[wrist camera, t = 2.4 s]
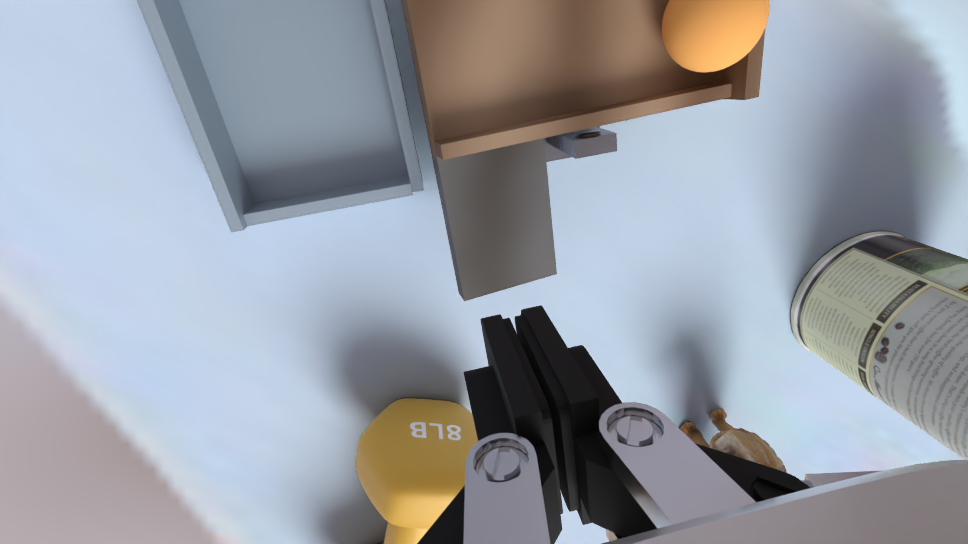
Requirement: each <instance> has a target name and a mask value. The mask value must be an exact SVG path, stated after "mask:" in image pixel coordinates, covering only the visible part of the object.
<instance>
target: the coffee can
mask: <svg viewBox="0 0 968 544" xmlns="http://www.w3.org/2000/svg"><path fill="white" fill-rule="evenodd" d="M791 326H792V330H793V334H794V336H795V337H796V339H797V341H798V342H799V343H800V344H801V345H802V346H803V347H804V348H805V349H807V350H809V351H810V352H813V353H814V354H816V355H818V356H819V357H820V358H822V359H823V360H824V361H826V362H827V363H829V364H830V365H832V366H833V367H834V368H836V369H837V370H839V371H840V372H841V373H843V374H844V375H846V376H847V377H848V378H850V379H851V380H853V381H854V382H855V383H857V384H858V385H860V386H861V387H863V388H864V389H865V390H867V391H868V392H870V393H871V394H872V395H874V396H875V397H876V398H878V399H879V400H881V401H882V402H884V403H885V404H886V405H888V406H889V407H891V408H892V409H893V410H895V411H896V412H898V413H899V414H900V415H902V416H903V417H905V418H906V419H907V420H909V421H910V422H912V423H913V424H915V425H916V426H917V427H919V428H920V429H922V430H923V431H924V432H926V433H927V434H929V435H930V436H931V437H933V438H934V439H936V440H937V441H938V442H940V443H941V444H943V445H944V446H945V447H947V448H948V449H950V450H951V451H953V452H954V453H956V454H957V455H958V456H960V457H961V458H963V459H964V460H968V259H965V258H962V257H959V256H956V255H953V254H950V253H947V252H945V251H942V250H939V249H936V248H933V247H930V246H927V245H925V244H922V243H919V242H916V241H912V240H910V239H907V238H905V237H904V236H902V235H899V234H897V233H893V232H885V231H878V232H870V233H865V234H861V235H858V236H855V237H853V238H851V239H848V240H846V241H844V242H843V243H841V244H839V245H837V246H836V247H834V248H833V249H832V250H830V251H829V252H828V253H826V254H825V255H824V256H823V257H822V258H821V259H820V260H818V261H817V263H816V264H815V265H814V266H813V267H812V268H811V269H810V271H809V272H808V273H807V275H806V276H805V277H804V279H803V281H802V282H801V284H800V285H799V287H798V289H797V292H796V295H795V298H794V300H793V303H792V308H791Z"/></svg>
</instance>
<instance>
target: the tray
mask: <svg viewBox="0 0 968 544" xmlns="http://www.w3.org/2000/svg"><path fill="white" fill-rule="evenodd" d="M137 2H138V4H139V7H140V9H141V12H142V14H143V16H144V19H145V21H146V24H147V26H148V29H149V31H150V34H151V36H152V39H153V41H154V44H155V46H156V48H157V51H158V53H159V56H160V58H161V61H162V63H163V66H164V68H165V71H166V73H167V76H168V78H169V80H170V83H171V85H172V88H173V90H174V93H175V95H176V98H177V100H178V103H179V105H180V108H181V110H182V112H183V115H184V117H185V120H186V122H187V125H188V127H189V130H190V132H191V135H192V137H193V140H194V142H195V144H196V147H197V149H198V152H199V154H200V157H201V159H202V162H203V164H204V167H205V169H206V172H207V174H208V177H209V179H210V181H211V184H212V186H213V189H214V191H215V194H216V196H217V199H218V201H219V204H220V206H221V209H222V211H223V213H224V216H225V218H226V221H227V223H228V226H229V228H230V231H231V232H235V231H241V230H244V229H245V228H246V227H247V226H251V225H256V224H261V223H267V222H272V221H277V220H283V219H288V218H293V217H299V216H304V215H309V214H315V213H320V212H325V211H331V210H336V209H341V208H347V207H352V206H357V205H363V204H368V203H373V202H378V201H384V200H389V199H394V198H400V197H405V196H410V195H413V192H416V191H422V190H424V188H423V181H422V176H421V171H420V166H419V162H418V157H417V152H416V147H415V143H414V138H413V133H412V128H411V123H410V119H409V114H408V109H407V104H406V100H405V95H404V90H403V85H402V81H401V76H400V71H399V66H398V62H397V57H396V52H395V47H394V42H393V38H392V33H391V28H390V23H389V19H388V14H387V9H386V4H385V0H137Z"/></svg>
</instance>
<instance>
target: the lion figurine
mask: <svg viewBox="0 0 968 544" xmlns="http://www.w3.org/2000/svg"><path fill="white" fill-rule="evenodd" d="M726 416H727V415H726V413H725V412H724V411H723V410H722V409H716V410H713V411H712V412H711V420H712V422H713V424H714V425H715V426H716V427H717V429H718V430H719V431H720V433H717V434H716V435H715V436H713V438H712V440H711V443H710V446H709V445H708V444H707V443H706V441H705V440H704V438H703V436H702V434H701V432H700V431H699V430H698V429H696V427H695V425H694V424H693V423H692V422H685V423H684V424H683V425H682V426H681V427H680V430H681V431H682V432H683V433H684V434H685V435H686V436H687V437H689V438H690V439H691V440H692V441H693V442H694V443H696V444H699V445H703V446H706V447H709V448H712V449H715V450H718V451H721V452H724V453H728V454H731V455H734V456H737V457H740V458H743V459H746V460H750V461H753V462H756V463H759V464H762V465H765V466H768V467H772V468H775V469H778V470H781V471H783V472H786V469H785V466H784V465H783V462H782V460H781V459H780V458H778V457H777V455H776V454H775V451H774V450H773V449H772V448H771V447H770V445H769V444H768V443H767V442H766V441H764V440H763V439H761V438H760V437H759V436H758V435H757V434H755V433H752V432H748V431H746V430H744V429H742V428H739V429H736V428H733V427H732V426H731V425H729V424H728V423H726V422H725V418H726Z"/></svg>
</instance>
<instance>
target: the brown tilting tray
mask: <svg viewBox="0 0 968 544" xmlns="http://www.w3.org/2000/svg"><path fill="white" fill-rule="evenodd" d="M668 2H669V0H402V6H403V11H404V16H405V21H406V26H407V31H408V36H409V41H410V46H411V51H412V56H413V62H414V67H415V72H416V77H417V82H418V87H419V92H420V97H421V102H422V107H423V112H424V118H425V123H426V128H427V133H428V138H429V143H430V148H431V153H432V158H433V163H434V168H435V174H436V179H437V184H438V189H439V194H440V199H441V204H442V209H443V214H444V219H445V224H446V229H447V235H448V240H449V245H450V250H451V255H452V260H453V265H454V270H455V275H456V280H457V285H458V291H459V294H460V295H461V297H462V298H463V300H464V301H466V300H470V299H473V298H477V297H480V296H483V295H487V294H490V293H494V292H497V291H500V290H504V289H507V288H511V287H514V286H517V285H521V284H524V283H528V282H531V281H534V280H538V279H541V278H545V277H548V276H551V275H555V274H557V272H556V262H555V251H554V240H553V230H552V219H551V208H550V198H549V187H548V176H547V166H546V155H545V144H544V138H546V137H551V136H555V135H560V134H565V133H569V132H574V131H578V130H583V129H587V128H592V127H597V126H601V125H606V124H610V123H615V122H619V121H624V120H629V119H633V118H638V117H642V116H647V115H651V114H656V113H661V112H665V111H670V110H674V109H679V108H683V107H688V106H693V105H697V104H702V103H706V102H711V101H715V100H720V99H736V100H746V99H751V98H755V97H759V88H760V78H761V67H762V56H763V46H764V35H765V29H764V31H763V34H762V36H761V37H760V39H759V41H758V42H757V43H756V45H755V46H754V47H753V48H752V50H751V51H750V52H749V53H748V54H747V55H746V56H744V57H743V58H742V59H741V60H739V61H738V62H736V63H735V64H733V65H731V66H729V67H727V68H724V69H721V70H718V71H714V72H695V71H691V70H688V69H686V68H683V67H682V66H680V65H679V64H677V63H676V62H675V61H674V60H673V59H672V58H671V57H670V55H669V54H668V52H667V50H666V48H665V46H664V42H663V38H662V20H663V15H664V12H665V9H666V6H667V4H668Z"/></svg>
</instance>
